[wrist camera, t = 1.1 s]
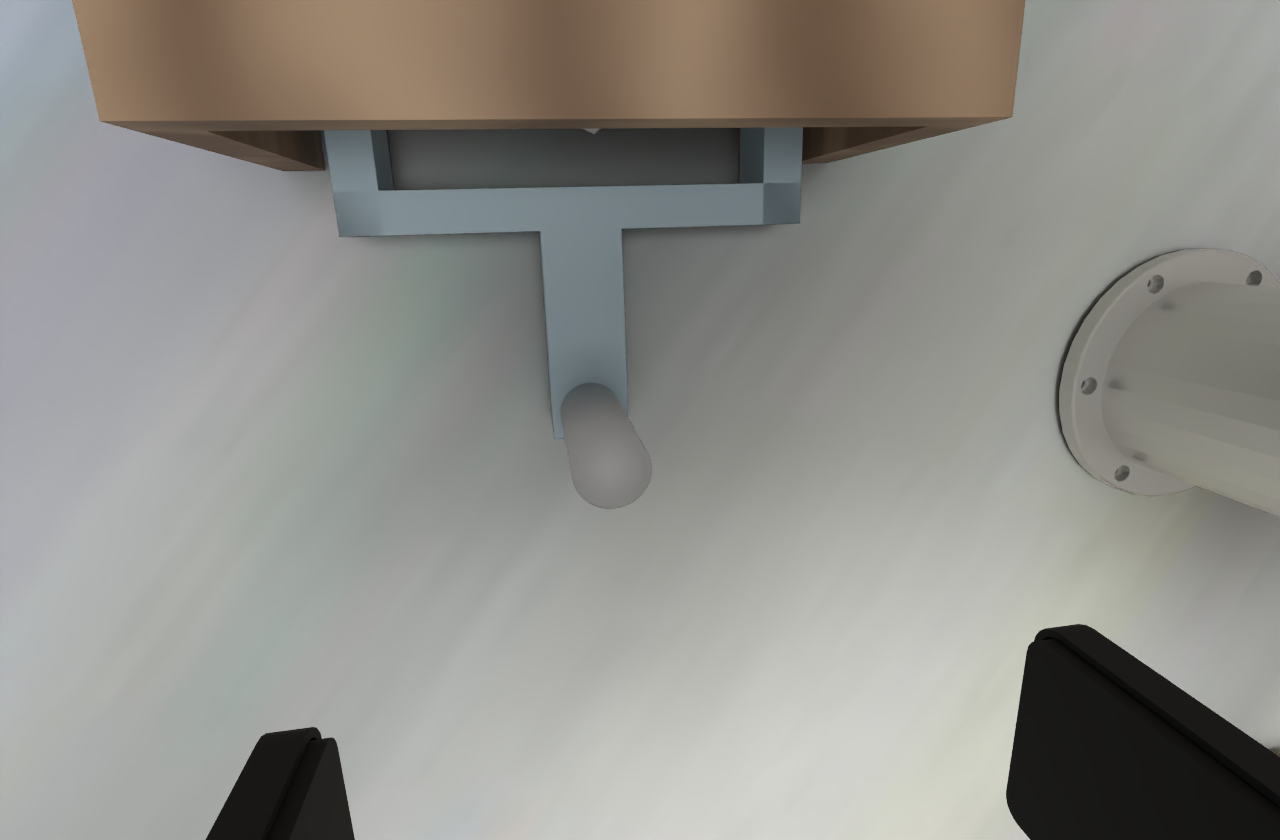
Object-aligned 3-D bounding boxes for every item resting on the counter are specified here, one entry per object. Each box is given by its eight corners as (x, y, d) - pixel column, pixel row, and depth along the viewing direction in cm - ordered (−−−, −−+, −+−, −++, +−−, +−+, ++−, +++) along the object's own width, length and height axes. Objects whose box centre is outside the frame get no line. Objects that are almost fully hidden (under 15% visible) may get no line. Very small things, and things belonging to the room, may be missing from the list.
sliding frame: (290, -268, 22) (107, -658, 12) (783, -230, 24) (947, -529, 15) (387, 435, 28) (317, 536, 19) (768, 408, 31) (875, 484, 21)
